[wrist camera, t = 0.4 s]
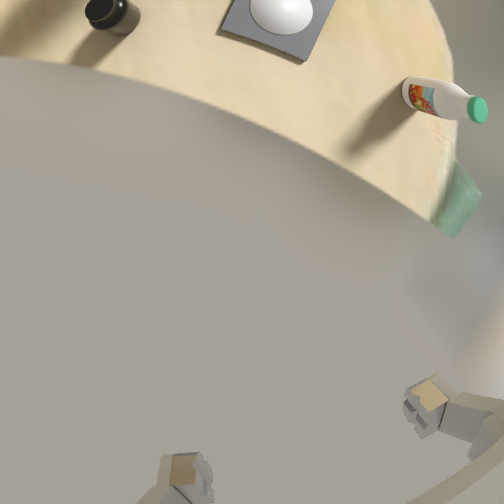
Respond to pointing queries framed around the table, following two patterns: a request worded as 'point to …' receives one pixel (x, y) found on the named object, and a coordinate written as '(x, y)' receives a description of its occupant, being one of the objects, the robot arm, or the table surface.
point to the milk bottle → (443, 99)
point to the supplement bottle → (113, 16)
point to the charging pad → (280, 23)
